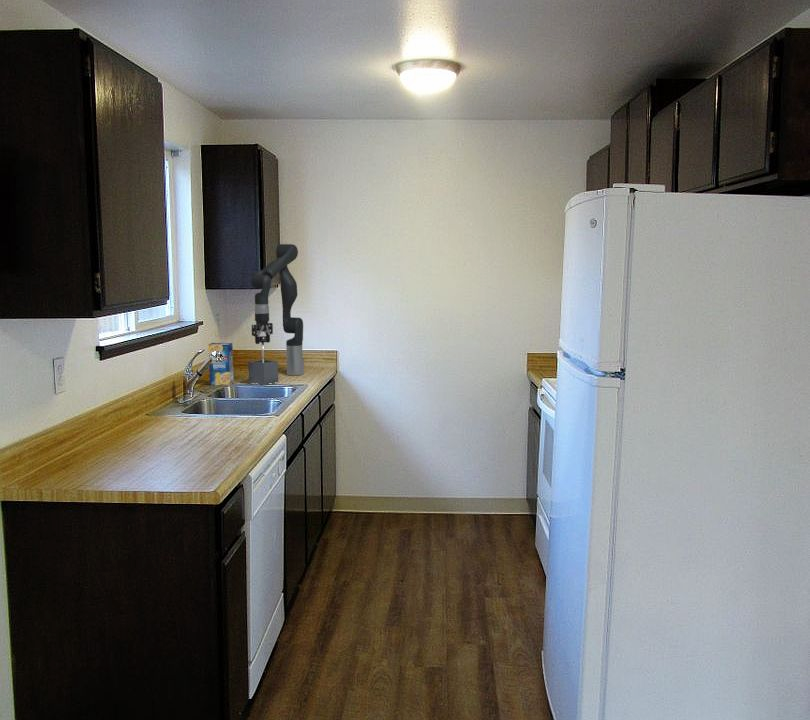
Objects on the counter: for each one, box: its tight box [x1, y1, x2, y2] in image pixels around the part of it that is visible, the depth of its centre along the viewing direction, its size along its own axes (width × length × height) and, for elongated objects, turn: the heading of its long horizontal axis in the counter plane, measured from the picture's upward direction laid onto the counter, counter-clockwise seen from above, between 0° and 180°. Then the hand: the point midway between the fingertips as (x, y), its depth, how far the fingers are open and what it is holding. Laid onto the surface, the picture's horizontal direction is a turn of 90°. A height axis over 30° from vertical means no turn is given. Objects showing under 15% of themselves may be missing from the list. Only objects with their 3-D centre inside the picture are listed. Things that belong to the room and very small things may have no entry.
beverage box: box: [208, 342, 235, 386], centre depth 394 cm, size 7×11×22 cm, turn 87°
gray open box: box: [247, 359, 279, 385], centre depth 398 cm, size 11×11×12 cm
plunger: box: [259, 335, 267, 363], centre depth 396 cm, size 8×8×16 cm
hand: (262, 343), depth 395 cm, fingers open, 7 cm apart
